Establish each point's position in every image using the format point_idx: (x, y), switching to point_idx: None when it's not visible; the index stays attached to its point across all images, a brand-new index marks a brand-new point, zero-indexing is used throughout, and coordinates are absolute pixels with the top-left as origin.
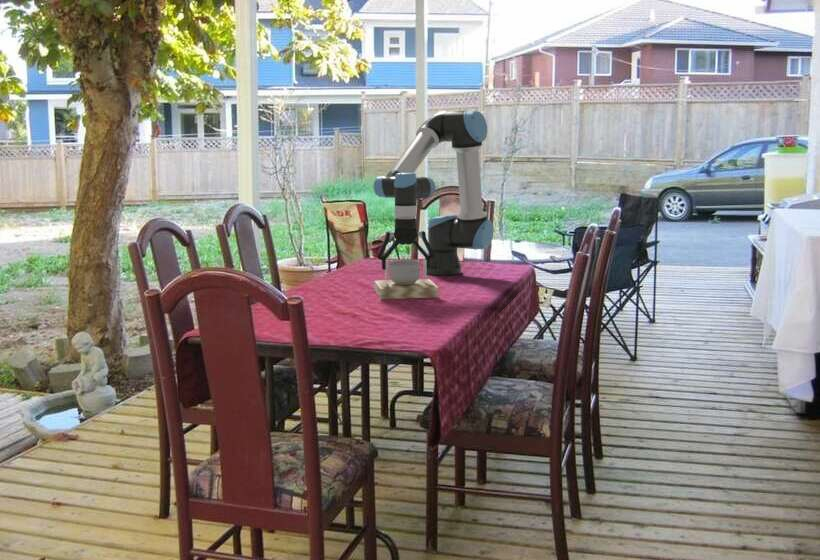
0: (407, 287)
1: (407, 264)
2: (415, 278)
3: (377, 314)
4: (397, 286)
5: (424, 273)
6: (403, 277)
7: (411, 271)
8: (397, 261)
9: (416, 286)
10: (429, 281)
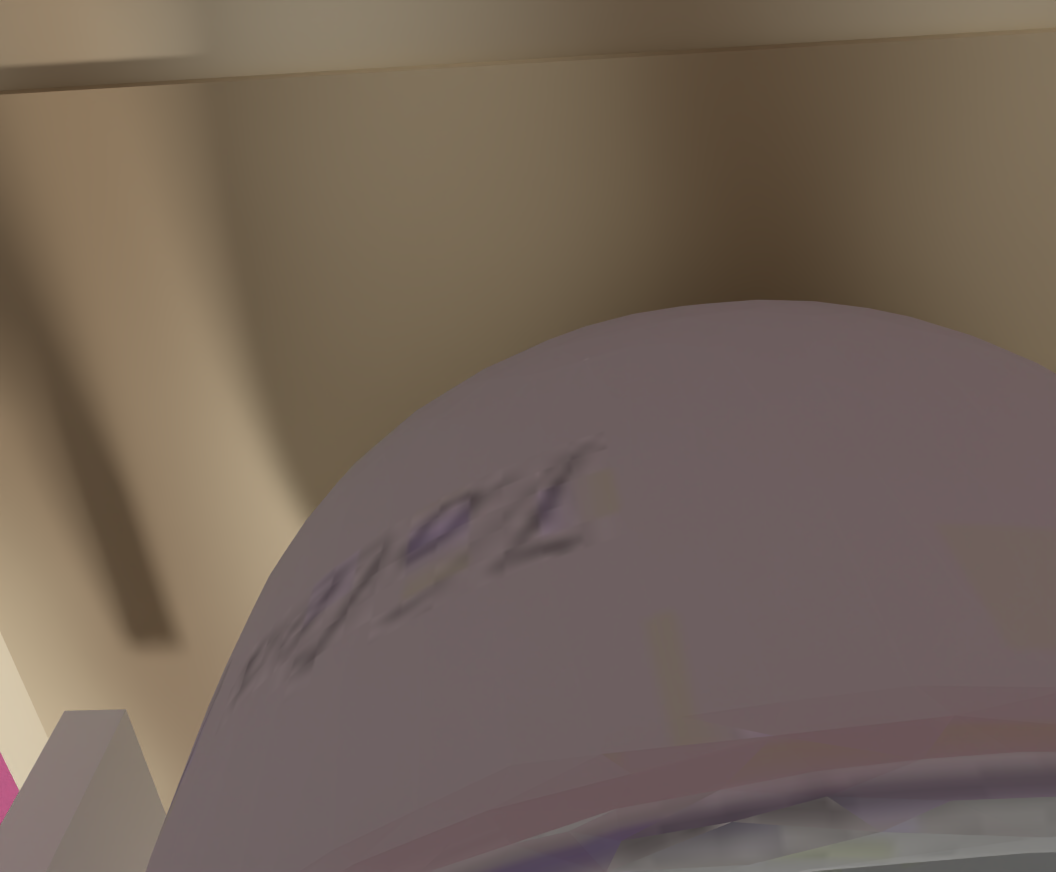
0: (724, 49)
1: (944, 815)
2: (393, 434)
3: None
4: (1032, 221)
5: (65, 835)
6: (923, 345)
7: (559, 512)
8: None
9: (399, 150)
10: None
